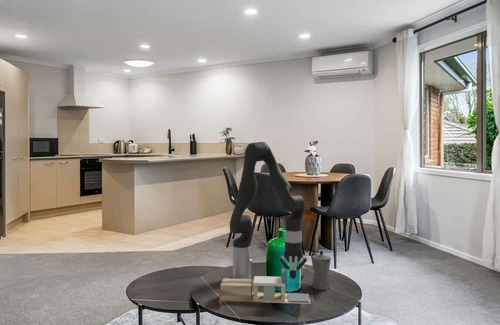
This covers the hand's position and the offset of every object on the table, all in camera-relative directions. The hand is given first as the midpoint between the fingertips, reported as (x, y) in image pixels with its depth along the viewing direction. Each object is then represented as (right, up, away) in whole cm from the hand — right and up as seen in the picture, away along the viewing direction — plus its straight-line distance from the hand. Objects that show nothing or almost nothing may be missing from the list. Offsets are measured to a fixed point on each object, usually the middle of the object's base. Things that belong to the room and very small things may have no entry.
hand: (292, 278), depth 178 cm
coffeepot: (+16, -10, +20) cm, 27 cm away
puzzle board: (-13, -10, +1) cm, 16 cm away
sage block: (-11, -9, +1) cm, 14 cm away
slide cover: (-11, -2, +1) cm, 11 cm away
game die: (+7, -9, +35) cm, 37 cm away
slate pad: (+2, -9, 0) cm, 9 cm away
